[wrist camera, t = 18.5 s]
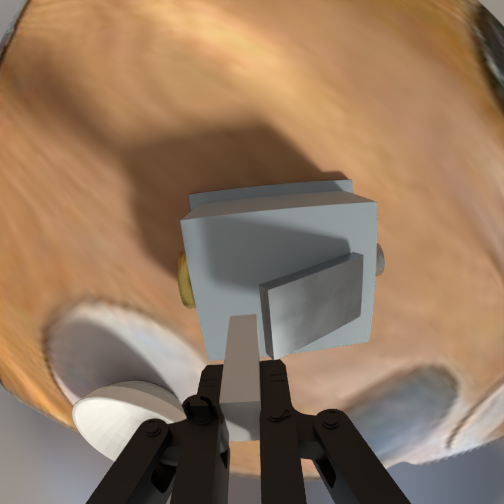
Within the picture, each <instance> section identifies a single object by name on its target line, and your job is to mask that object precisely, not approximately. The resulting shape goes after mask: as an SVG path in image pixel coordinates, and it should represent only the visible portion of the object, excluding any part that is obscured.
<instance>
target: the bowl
mask: <svg viewBox="0 0 504 504" xmlns="http://www.w3.org/2000/svg"><path fill="white" fill-rule="evenodd" d="M152 418H158V419H161V420H164V421H165V422H166V423H167V424H170V423H175V422H179V421H182V420H184V419H186V415H185V413H184V410H183V408H182V404H181V403H180V401H179V400H178V399H177V398H176V397H175V396H174V395H173V394H172V393H170V392H169V391H167V390H166V389H164V388H162V387H160V386H158V385H155V384H153V383H149V382H145V381H138V380H132V381H125V382H117V383H115V384H112V385H108V386H105V387H102V388H99V389H96V390H94V391H93V392H91V393H89V394H88V395H86V396H85V397H83V398H82V399H80V400H79V401H78V402H76V403H75V405H74V407H73V420H74V423H75V425H76V427H77V429H78V431H79V432H80V433H81V435H82V436H83V437H84V438H85V439H86V440H87V441H88V442H89V443H90V444H91V445H92V446H93V447H94V448H95V449H97V450H98V451H99V452H100V453H102V454H103V455H105V456H107V457H108V458H110V459H111V460H113V461H115V460H116V459H117V458H118V456H119V455H120V453H121V452H122V450H123V449H124V447H125V446H126V444H127V443H128V442H129V440H130V439H131V437H132V436H133V434H134V433H135V431H136V430H137V428H138V427H139V426H140V425H141V424H142V423H143V422H144V421H146V420H148V419H152Z"/></svg>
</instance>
